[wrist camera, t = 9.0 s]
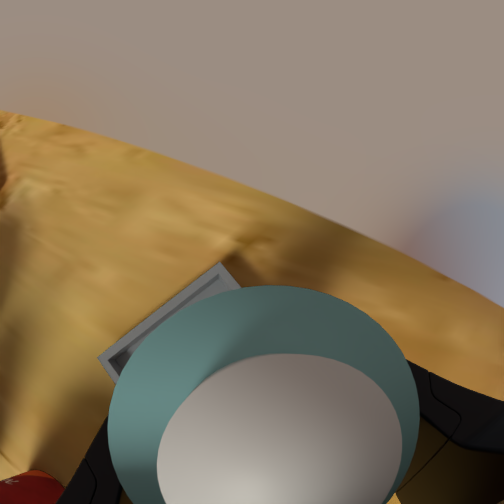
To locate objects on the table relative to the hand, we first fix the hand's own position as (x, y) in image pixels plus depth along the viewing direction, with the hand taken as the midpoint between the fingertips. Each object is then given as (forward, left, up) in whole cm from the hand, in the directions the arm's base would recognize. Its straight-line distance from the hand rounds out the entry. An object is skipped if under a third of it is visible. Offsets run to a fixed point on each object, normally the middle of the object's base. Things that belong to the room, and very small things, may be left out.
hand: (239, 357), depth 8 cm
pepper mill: (-1, -1, -7) cm, 7 cm away
